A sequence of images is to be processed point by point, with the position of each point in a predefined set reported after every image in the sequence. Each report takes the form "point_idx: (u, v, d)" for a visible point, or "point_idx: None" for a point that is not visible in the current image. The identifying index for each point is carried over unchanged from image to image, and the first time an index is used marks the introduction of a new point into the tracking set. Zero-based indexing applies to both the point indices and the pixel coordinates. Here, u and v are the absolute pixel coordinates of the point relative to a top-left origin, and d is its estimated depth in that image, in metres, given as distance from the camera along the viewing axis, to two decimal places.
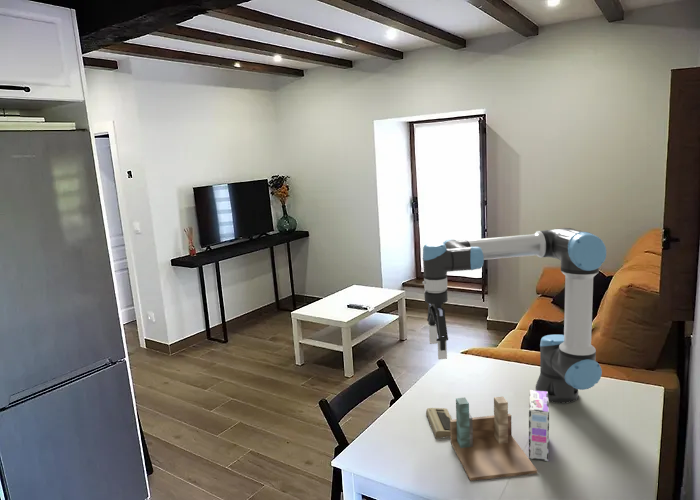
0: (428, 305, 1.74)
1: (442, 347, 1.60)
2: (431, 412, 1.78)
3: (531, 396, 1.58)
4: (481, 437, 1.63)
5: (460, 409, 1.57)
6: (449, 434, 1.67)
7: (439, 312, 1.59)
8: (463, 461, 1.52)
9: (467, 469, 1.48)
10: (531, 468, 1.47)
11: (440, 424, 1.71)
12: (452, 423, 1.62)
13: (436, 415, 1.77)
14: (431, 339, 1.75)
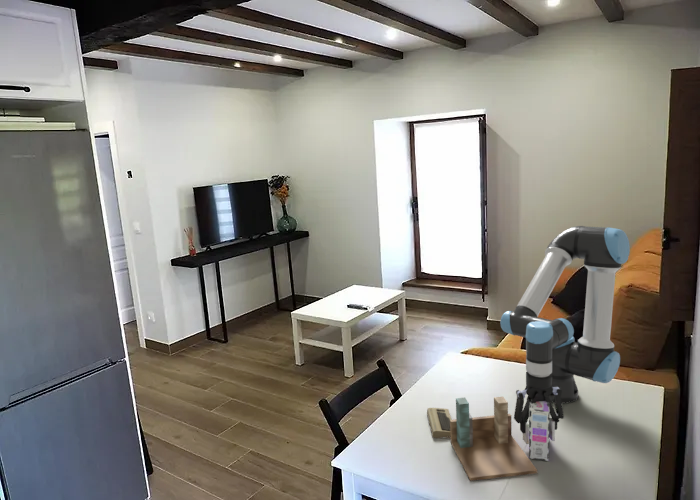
0: None
1: (520, 428, 1.56)
2: (431, 412, 1.79)
3: None
4: (481, 437, 1.63)
5: (460, 409, 1.57)
6: (446, 434, 1.67)
7: (517, 393, 1.55)
8: (463, 461, 1.52)
9: (467, 469, 1.48)
10: (531, 468, 1.47)
11: (438, 424, 1.71)
12: (452, 423, 1.62)
13: (436, 415, 1.77)
14: (549, 432, 1.58)
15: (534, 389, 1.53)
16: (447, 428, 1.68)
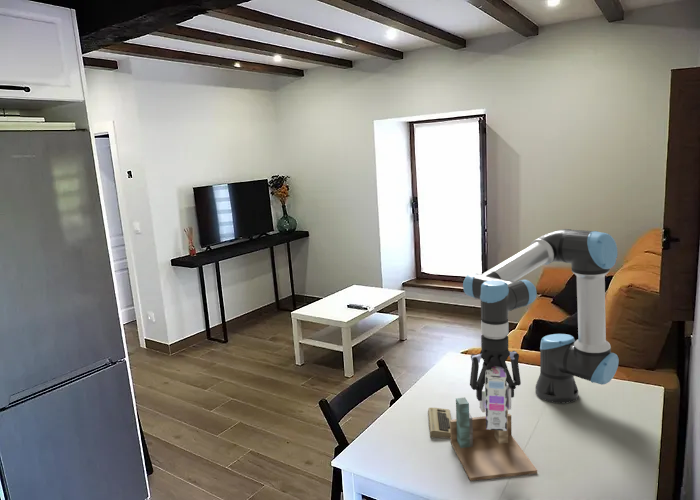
0: None
1: (476, 396, 1.47)
2: (431, 412, 1.79)
3: None
4: (481, 437, 1.63)
5: (460, 409, 1.57)
6: (444, 435, 1.67)
7: (471, 358, 1.45)
8: (463, 461, 1.52)
9: (467, 469, 1.48)
10: (531, 468, 1.47)
11: (437, 424, 1.71)
12: (452, 423, 1.62)
13: (436, 415, 1.77)
14: None
15: (489, 353, 1.43)
16: (445, 428, 1.68)
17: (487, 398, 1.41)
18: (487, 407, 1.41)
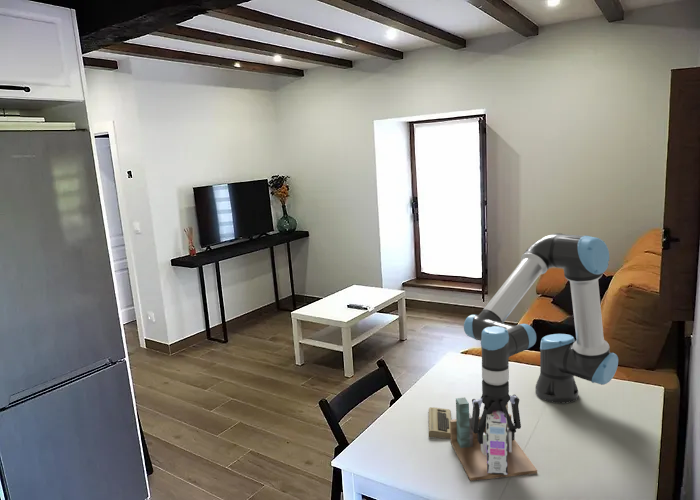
0: None
1: (478, 439, 1.49)
2: (431, 412, 1.79)
3: None
4: None
5: (460, 409, 1.57)
6: (442, 435, 1.67)
7: (472, 402, 1.47)
8: (463, 461, 1.52)
9: (467, 469, 1.48)
10: (531, 468, 1.47)
11: (436, 424, 1.71)
12: (452, 423, 1.62)
13: (436, 415, 1.77)
14: None
15: (490, 397, 1.46)
16: (444, 428, 1.68)
17: (488, 443, 1.43)
18: (488, 452, 1.44)
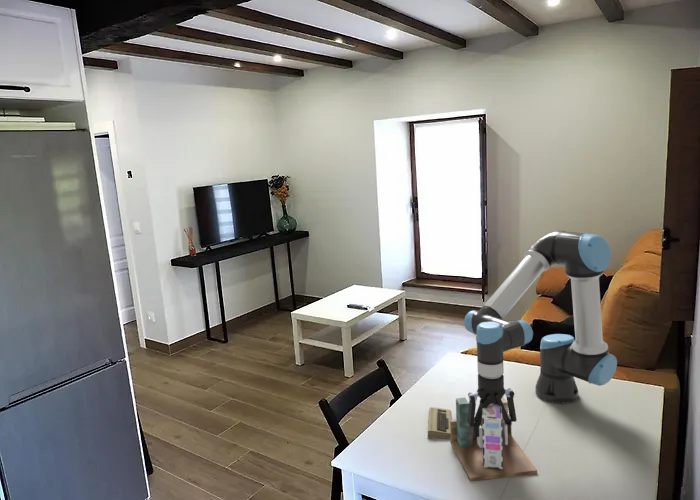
0: None
1: (474, 432, 1.53)
2: (432, 412, 1.79)
3: None
4: None
5: (460, 409, 1.57)
6: (441, 435, 1.67)
7: (469, 396, 1.51)
8: (463, 461, 1.52)
9: (467, 469, 1.48)
10: (531, 468, 1.47)
11: (435, 424, 1.71)
12: (452, 423, 1.62)
13: (435, 415, 1.77)
14: (502, 436, 1.55)
15: (486, 391, 1.50)
16: (443, 429, 1.68)
17: (484, 438, 1.46)
18: (484, 446, 1.47)
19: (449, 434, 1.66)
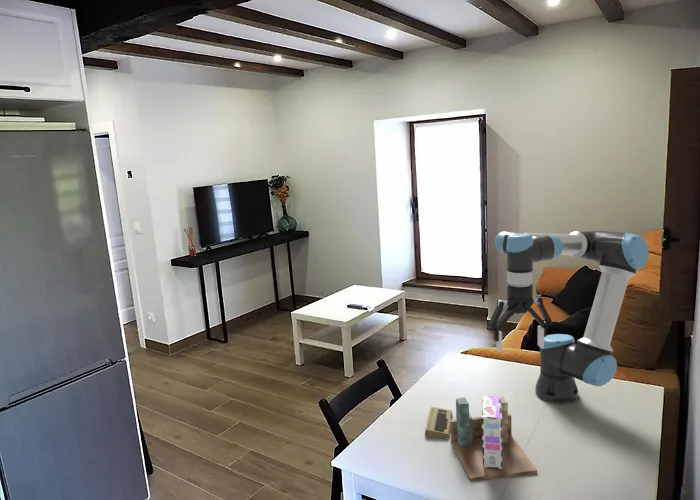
0: None
1: (494, 337, 1.58)
2: (432, 411, 1.79)
3: (483, 403, 1.53)
4: (481, 437, 1.63)
5: (460, 409, 1.57)
6: (439, 435, 1.67)
7: (498, 302, 1.56)
8: (463, 461, 1.52)
9: (467, 469, 1.48)
10: (531, 468, 1.47)
11: (434, 424, 1.71)
12: (452, 423, 1.62)
13: (435, 415, 1.77)
14: (538, 340, 1.60)
15: (515, 301, 1.55)
16: (440, 429, 1.68)
17: (483, 438, 1.46)
18: (483, 446, 1.47)
19: (446, 434, 1.66)
